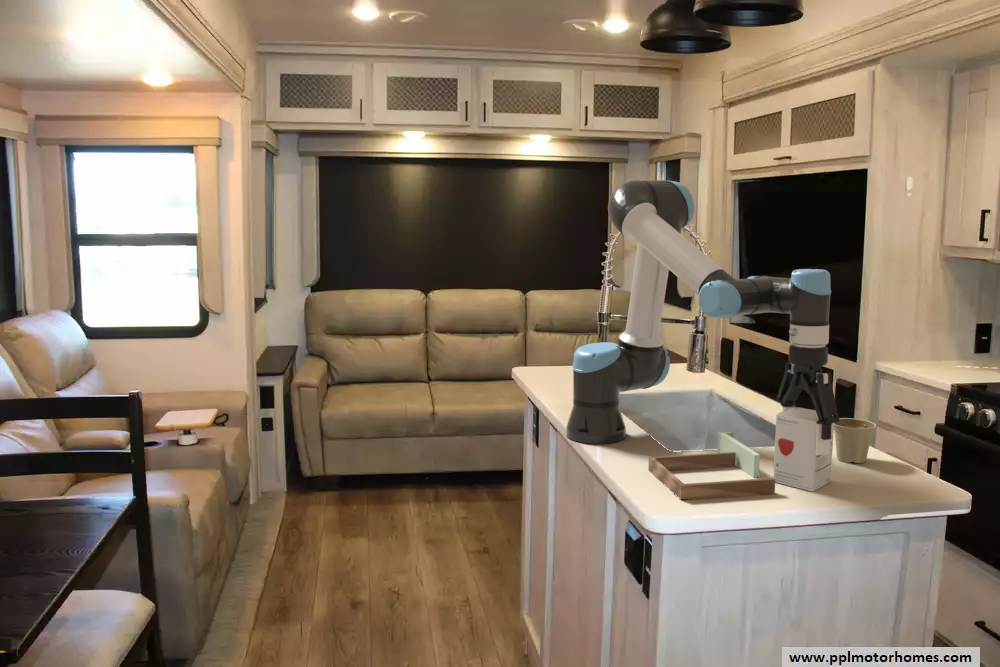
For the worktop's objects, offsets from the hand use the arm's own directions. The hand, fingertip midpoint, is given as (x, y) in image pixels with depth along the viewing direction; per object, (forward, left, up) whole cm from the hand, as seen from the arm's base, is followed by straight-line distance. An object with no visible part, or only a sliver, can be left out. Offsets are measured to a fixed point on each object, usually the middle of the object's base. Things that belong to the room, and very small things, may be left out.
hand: (804, 445), depth 168 cm
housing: (-4, -19, -8) cm, 21 cm away
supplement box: (0, 0, -8) cm, 8 cm away
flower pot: (-12, +19, -8) cm, 24 cm away
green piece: (-14, -7, -8) cm, 18 cm away
